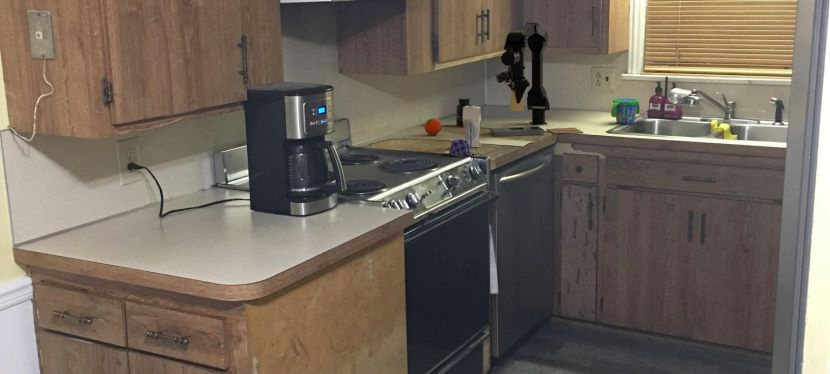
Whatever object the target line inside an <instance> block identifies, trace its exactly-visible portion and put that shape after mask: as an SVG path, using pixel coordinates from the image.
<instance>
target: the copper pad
mask: <svg viewBox="0 0 830 374" xmlns="http://www.w3.org/2000/svg"><path fill="white" fill-rule="evenodd" d="M546 131H547V132H550V133H551V134H553V135H555V136H556V135H573V134H574V135H575V134H584V131H582V130H581V129H578V128H576V127H561V128H560V127H558V128H557V127H556V128H546Z"/></svg>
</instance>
